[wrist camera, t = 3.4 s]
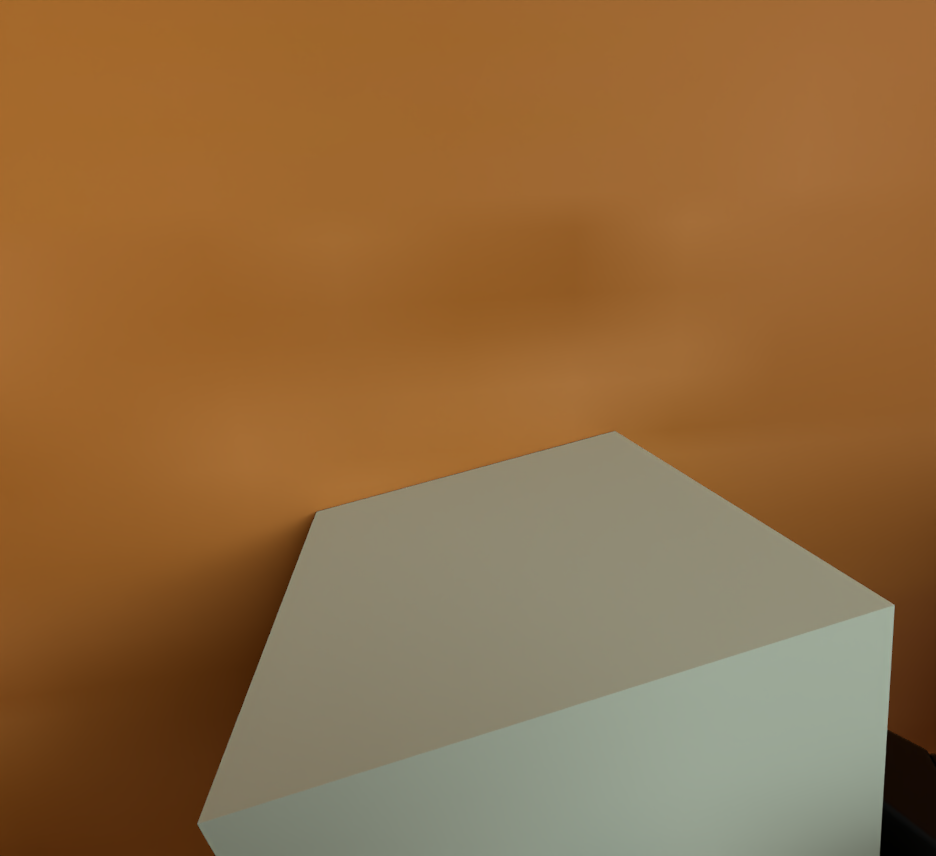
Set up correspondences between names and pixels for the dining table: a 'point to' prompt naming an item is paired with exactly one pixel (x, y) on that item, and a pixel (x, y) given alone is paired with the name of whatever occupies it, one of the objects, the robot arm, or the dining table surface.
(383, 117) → the dining table surface
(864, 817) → the cabinet block
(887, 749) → the robot arm
